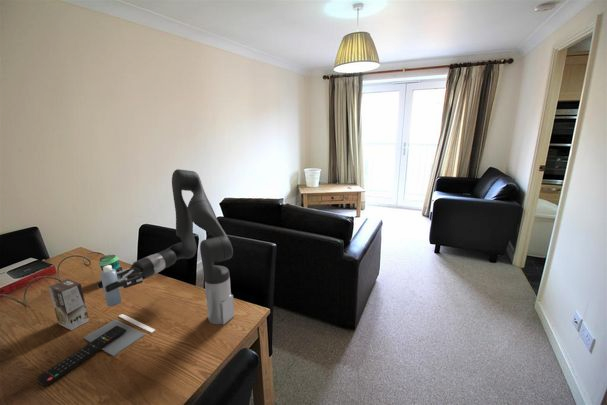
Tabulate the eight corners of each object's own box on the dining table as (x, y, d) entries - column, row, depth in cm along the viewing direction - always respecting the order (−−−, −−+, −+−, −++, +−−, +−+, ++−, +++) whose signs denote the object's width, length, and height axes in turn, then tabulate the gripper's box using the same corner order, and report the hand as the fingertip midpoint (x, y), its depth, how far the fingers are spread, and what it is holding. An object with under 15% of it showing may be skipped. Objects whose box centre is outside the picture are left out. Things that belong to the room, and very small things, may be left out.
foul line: (155, 330, 103) (155, 329, 103) (151, 333, 102) (151, 332, 102) (122, 314, 112) (122, 313, 112) (118, 316, 110) (118, 316, 110)
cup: (115, 284, 133) (110, 261, 130) (98, 284, 133) (93, 261, 130) (125, 275, 141) (121, 253, 138) (109, 275, 141) (105, 253, 138)
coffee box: (90, 320, 108) (81, 283, 104) (71, 331, 103) (61, 292, 98) (76, 314, 112) (68, 278, 108) (57, 323, 106) (47, 286, 102)
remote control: (126, 332, 101) (126, 329, 101) (46, 388, 80) (45, 384, 79) (117, 328, 103) (116, 325, 103) (36, 382, 82) (35, 378, 82)
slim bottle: (124, 300, 100) (117, 265, 96) (111, 307, 96) (103, 271, 92) (117, 297, 102) (110, 262, 98) (104, 303, 98) (96, 268, 94)
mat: (145, 335, 101) (145, 334, 100) (113, 356, 91) (113, 355, 91) (115, 320, 108) (115, 319, 108) (83, 338, 99) (83, 337, 99)
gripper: (136, 253, 111) (88, 272, 97) (159, 261, 105) (111, 283, 90) (139, 270, 113) (92, 291, 99) (162, 279, 107) (115, 303, 92)
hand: (102, 287), depth 94 cm, fingers closed on slim bottle, 4 cm apart
